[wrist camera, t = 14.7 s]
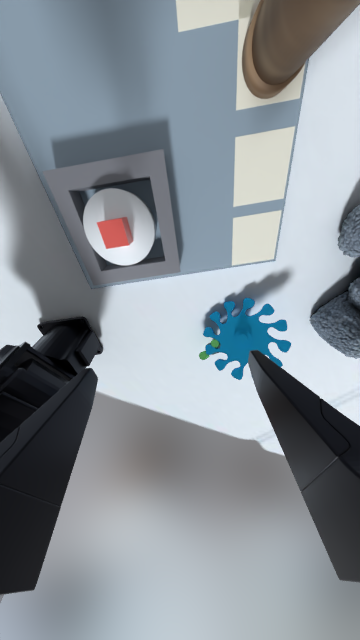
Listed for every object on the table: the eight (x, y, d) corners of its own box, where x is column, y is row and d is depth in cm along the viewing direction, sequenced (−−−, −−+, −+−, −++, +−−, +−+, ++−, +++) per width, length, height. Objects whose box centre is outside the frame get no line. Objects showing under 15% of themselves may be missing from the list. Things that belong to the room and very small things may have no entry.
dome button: (108, 261, 18) (92, 276, 14) (84, 196, 15) (56, 193, 11) (161, 253, 18) (158, 266, 14) (148, 185, 15) (140, 179, 11)
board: (93, 286, 21) (83, 296, 18) (-147, -248, 7) (-298, -462, 5) (271, 258, 20) (285, 266, 17) (374, -407, 6) (493, -764, 4)
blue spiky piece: (269, 282, 20) (309, 369, 18) (266, 293, 25) (297, 360, 23) (184, 318, 24) (209, 392, 22) (198, 320, 29) (219, 380, 27)
